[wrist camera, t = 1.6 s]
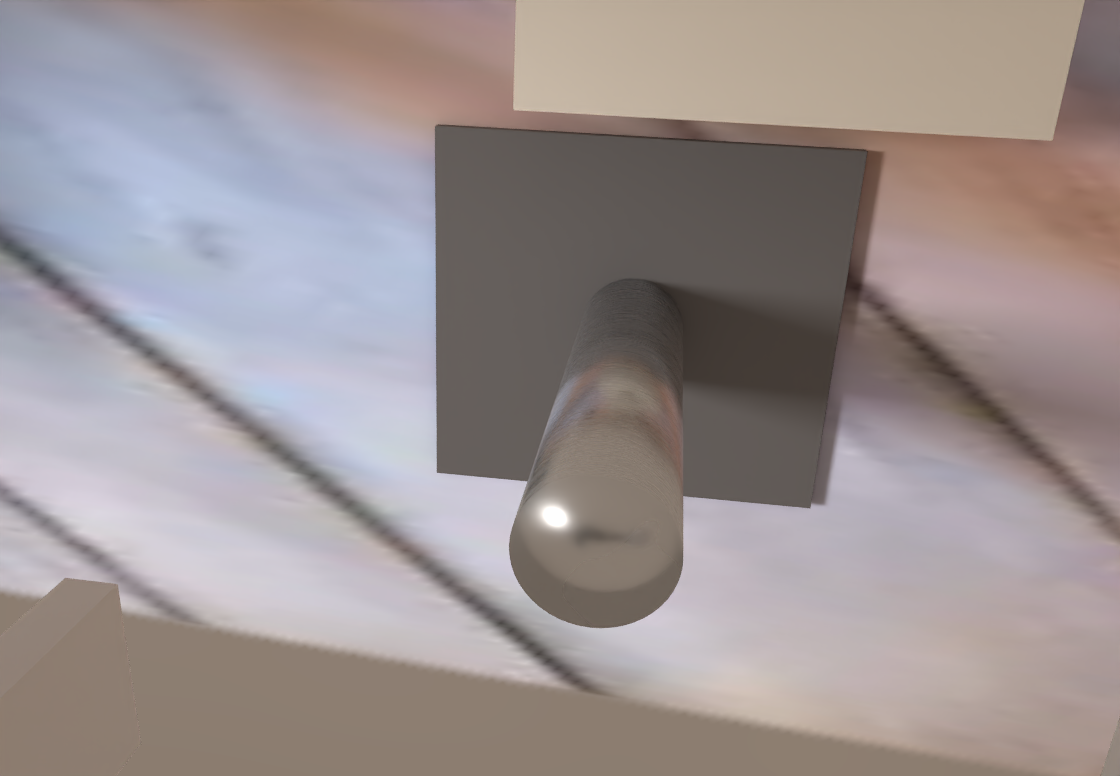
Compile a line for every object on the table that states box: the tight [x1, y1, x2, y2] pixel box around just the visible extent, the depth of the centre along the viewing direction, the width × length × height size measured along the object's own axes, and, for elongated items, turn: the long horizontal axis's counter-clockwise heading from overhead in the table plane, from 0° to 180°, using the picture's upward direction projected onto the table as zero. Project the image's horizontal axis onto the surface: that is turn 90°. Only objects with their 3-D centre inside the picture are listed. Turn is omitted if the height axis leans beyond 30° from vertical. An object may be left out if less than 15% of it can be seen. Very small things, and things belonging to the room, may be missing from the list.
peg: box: [509, 278, 683, 628], centre depth 22 cm, size 3×3×13 cm
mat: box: [435, 125, 867, 508], centre depth 28 cm, size 12×11×1 cm
